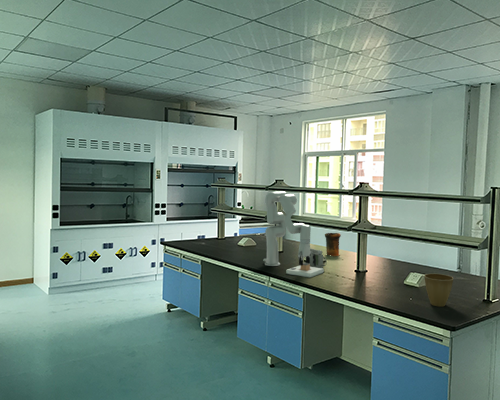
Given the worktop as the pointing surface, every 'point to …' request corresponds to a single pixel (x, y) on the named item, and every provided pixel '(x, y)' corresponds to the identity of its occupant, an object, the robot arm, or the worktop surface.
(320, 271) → the socket plate
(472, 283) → the worktop surface
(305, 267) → the plug
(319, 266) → the geiger counter
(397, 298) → the worktop surface
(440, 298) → the plant pot
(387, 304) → the worktop surface
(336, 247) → the vessel
